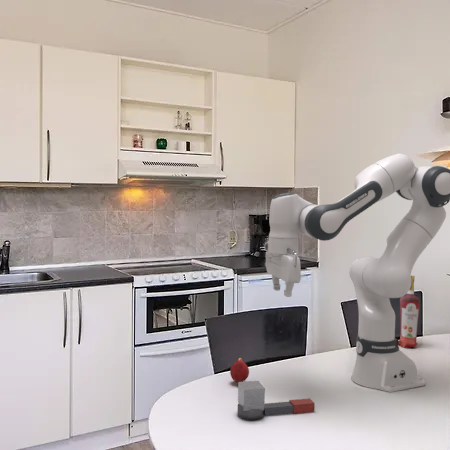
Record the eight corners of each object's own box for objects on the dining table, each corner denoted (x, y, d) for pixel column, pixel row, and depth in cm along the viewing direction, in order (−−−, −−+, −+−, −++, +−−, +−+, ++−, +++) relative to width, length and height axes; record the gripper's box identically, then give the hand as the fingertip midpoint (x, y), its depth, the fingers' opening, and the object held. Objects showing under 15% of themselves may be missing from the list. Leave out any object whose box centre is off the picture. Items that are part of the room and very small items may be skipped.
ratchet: (306, 404, 139) (307, 383, 139) (317, 415, 133) (317, 393, 132) (234, 410, 134) (234, 388, 134) (241, 422, 128) (241, 399, 127)
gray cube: (257, 400, 135) (258, 380, 135) (264, 409, 130) (264, 388, 129) (237, 402, 134) (238, 382, 133) (243, 411, 128) (244, 390, 128)
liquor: (399, 348, 193) (402, 277, 192) (396, 343, 200) (399, 274, 199) (419, 349, 192) (422, 277, 190) (415, 344, 199) (418, 275, 198)
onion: (247, 388, 150) (247, 362, 150) (228, 386, 152) (228, 360, 151) (250, 381, 156) (250, 356, 156) (231, 379, 157) (232, 354, 157)
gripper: (307, 251, 139) (305, 300, 140) (281, 243, 159) (280, 286, 159) (285, 251, 137) (284, 300, 138) (262, 244, 157) (261, 287, 158)
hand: (282, 293), depth 149 cm, fingers open, 8 cm apart
